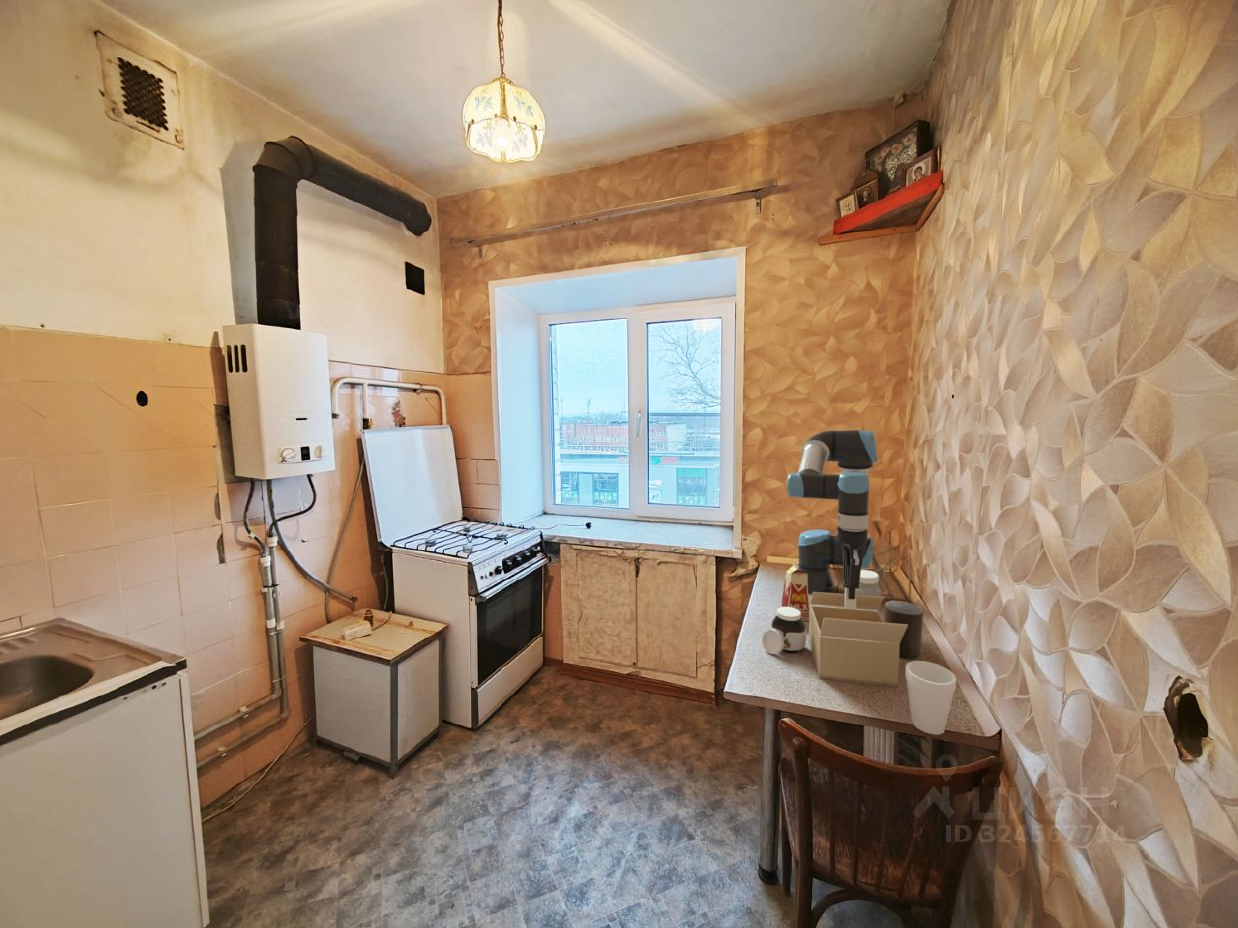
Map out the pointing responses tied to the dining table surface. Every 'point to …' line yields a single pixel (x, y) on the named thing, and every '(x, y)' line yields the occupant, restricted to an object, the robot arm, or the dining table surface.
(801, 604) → the milk carton
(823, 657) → the carton
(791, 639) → the spread jar
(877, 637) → the front flap
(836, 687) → the dining table surface
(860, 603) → the back flap
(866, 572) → the jar
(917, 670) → the foam cup
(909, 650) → the pillar candle
